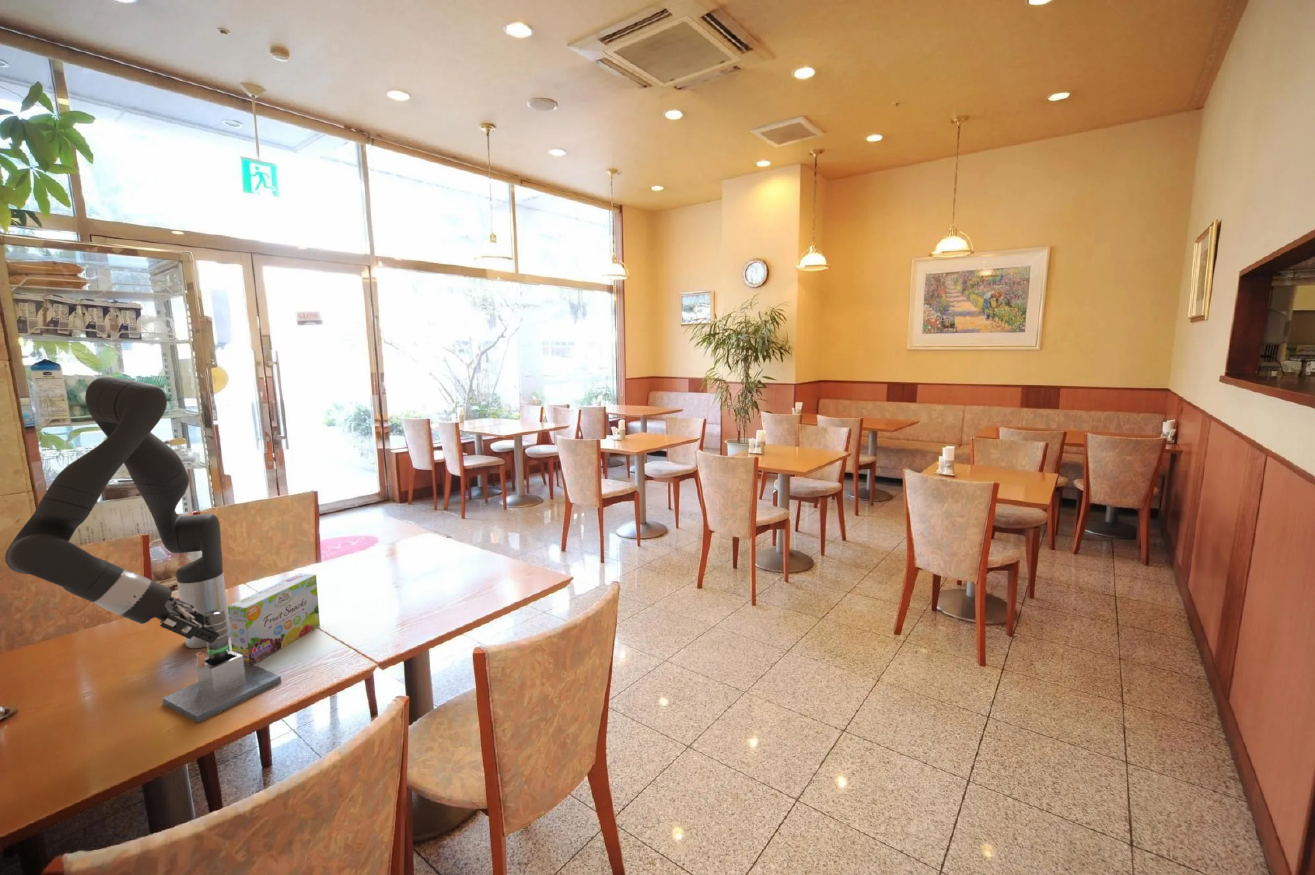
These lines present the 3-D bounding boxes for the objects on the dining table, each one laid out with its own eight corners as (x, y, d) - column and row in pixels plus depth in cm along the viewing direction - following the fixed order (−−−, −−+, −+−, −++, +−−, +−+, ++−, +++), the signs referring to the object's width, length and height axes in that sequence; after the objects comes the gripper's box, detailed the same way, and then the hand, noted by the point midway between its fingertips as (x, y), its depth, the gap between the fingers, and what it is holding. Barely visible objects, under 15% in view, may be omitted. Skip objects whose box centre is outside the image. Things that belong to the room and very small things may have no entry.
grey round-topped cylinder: (206, 669, 122) (199, 615, 120) (225, 661, 125) (219, 608, 123) (215, 674, 120) (208, 618, 118) (235, 665, 123) (228, 611, 121)
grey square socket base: (163, 704, 119) (156, 655, 118) (246, 667, 133) (240, 623, 132) (198, 723, 113) (191, 672, 111) (281, 682, 127) (276, 636, 126)
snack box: (252, 668, 133) (245, 607, 131) (232, 665, 134) (225, 605, 132) (322, 626, 154) (316, 573, 152) (304, 624, 155) (298, 571, 153)
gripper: (150, 590, 108) (232, 627, 117) (148, 570, 118) (223, 605, 127) (116, 625, 105) (202, 660, 114) (116, 601, 115) (195, 635, 125)
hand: (213, 631), depth 121 cm, fingers open, 8 cm apart
